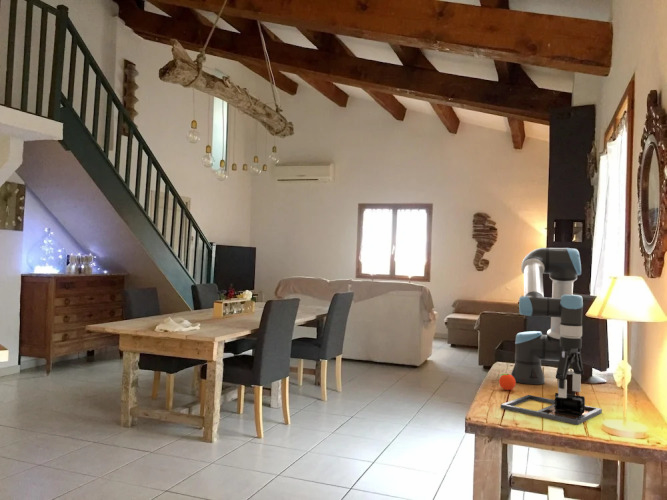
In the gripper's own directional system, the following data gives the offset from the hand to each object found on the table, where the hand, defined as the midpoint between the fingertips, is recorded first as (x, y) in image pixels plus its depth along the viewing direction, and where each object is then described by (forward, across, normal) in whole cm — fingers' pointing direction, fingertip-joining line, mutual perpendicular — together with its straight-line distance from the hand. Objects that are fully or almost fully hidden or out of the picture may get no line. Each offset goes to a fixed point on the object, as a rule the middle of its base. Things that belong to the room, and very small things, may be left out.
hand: (569, 394), depth 209 cm
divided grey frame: (+7, 0, -6) cm, 10 cm away
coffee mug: (+8, -28, -12) cm, 31 cm away
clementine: (+8, -20, -34) cm, 40 cm away
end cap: (+7, 0, 0) cm, 7 cm away
